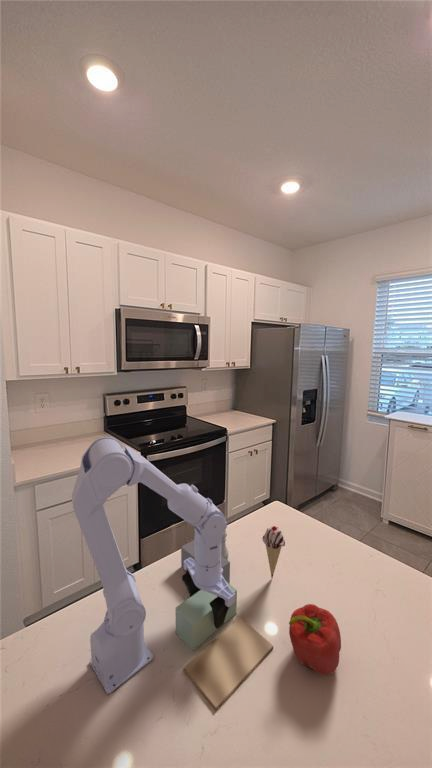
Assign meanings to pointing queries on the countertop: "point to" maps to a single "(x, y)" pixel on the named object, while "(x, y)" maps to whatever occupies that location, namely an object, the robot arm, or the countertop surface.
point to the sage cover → (199, 618)
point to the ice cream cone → (273, 546)
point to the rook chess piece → (224, 546)
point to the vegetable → (315, 638)
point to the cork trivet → (227, 661)
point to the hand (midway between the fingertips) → (207, 613)
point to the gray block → (188, 552)
